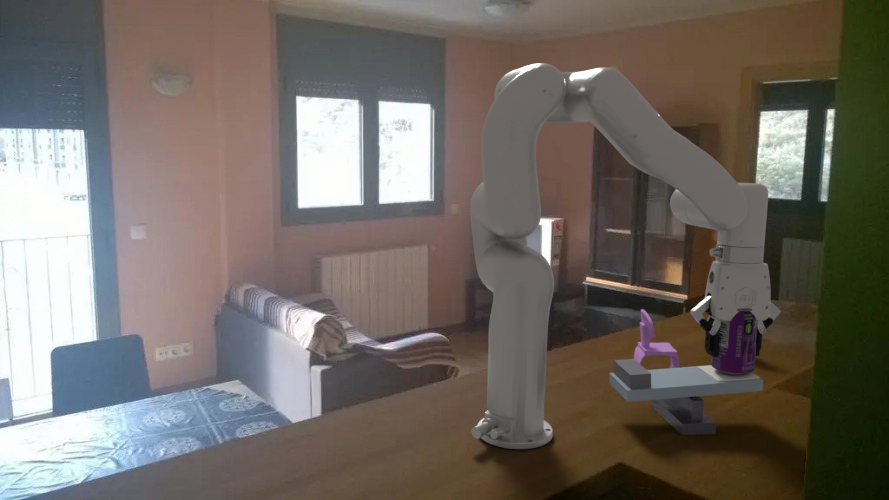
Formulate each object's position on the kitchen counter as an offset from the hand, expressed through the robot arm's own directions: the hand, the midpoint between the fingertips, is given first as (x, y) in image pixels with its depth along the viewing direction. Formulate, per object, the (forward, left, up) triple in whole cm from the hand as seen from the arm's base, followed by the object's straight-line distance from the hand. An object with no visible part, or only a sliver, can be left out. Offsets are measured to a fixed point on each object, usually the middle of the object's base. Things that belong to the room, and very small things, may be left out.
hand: (732, 353), depth 122 cm
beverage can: (0, 0, -3) cm, 3 cm away
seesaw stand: (-6, +6, -12) cm, 15 cm away
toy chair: (+10, +18, -12) cm, 24 cm away
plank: (-6, +6, -6) cm, 10 cm away
